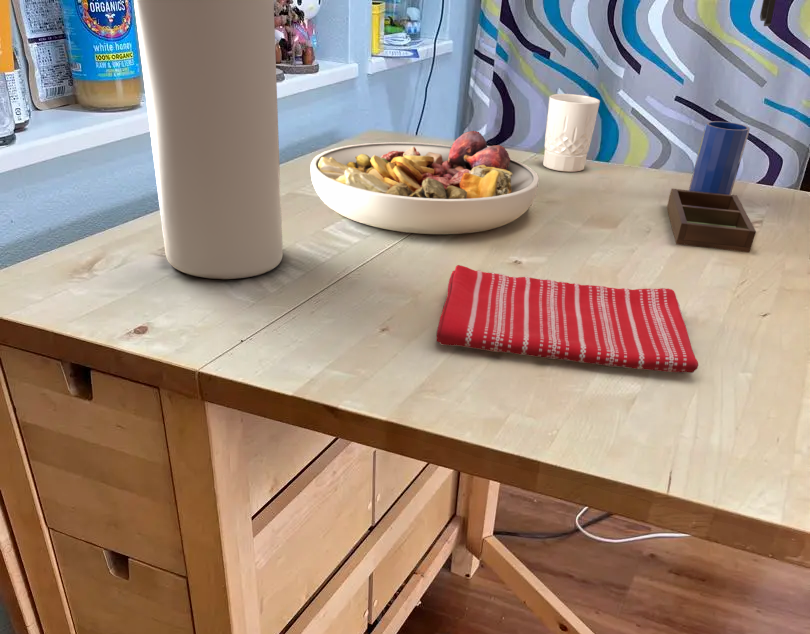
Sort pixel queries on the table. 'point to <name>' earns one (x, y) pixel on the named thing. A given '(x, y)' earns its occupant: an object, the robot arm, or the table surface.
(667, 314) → the dish towel
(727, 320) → the table surface
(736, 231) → the holder
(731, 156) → the cup
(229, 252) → the cylinder vase
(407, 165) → the bowl
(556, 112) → the white cup
